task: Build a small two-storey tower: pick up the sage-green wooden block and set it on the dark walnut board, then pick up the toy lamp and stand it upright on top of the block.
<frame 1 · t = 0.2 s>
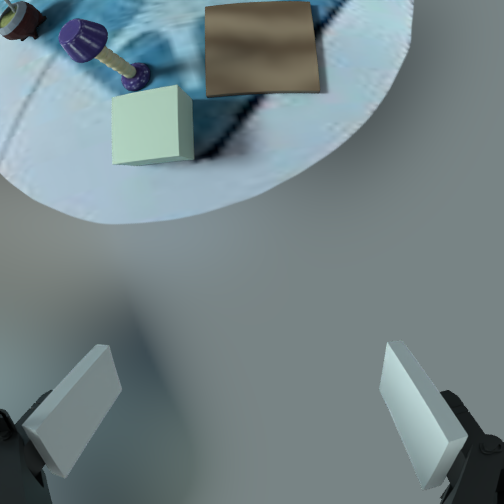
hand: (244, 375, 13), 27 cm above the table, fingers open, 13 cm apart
toy lamp: (136, 75, 36), on the table
sage block: (163, 132, 38), on the table
mate gourd: (35, 27, 34), on the table
walnut board: (260, 46, 34), on the table
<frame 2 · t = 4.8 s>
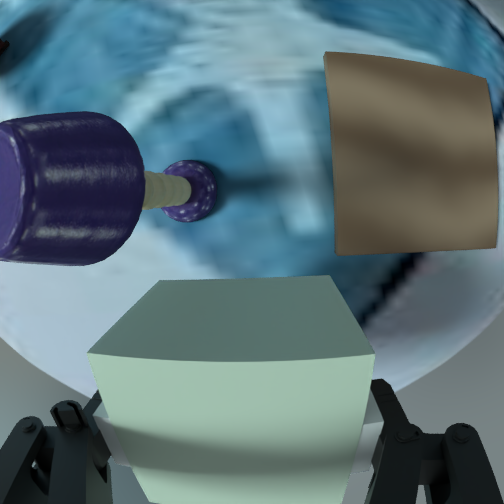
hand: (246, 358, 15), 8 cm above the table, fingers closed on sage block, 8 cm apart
toy lamp: (185, 186, 21), on the table
sage block: (247, 353, 15), point 7 cm above the table, touching gripper
walnut board: (422, 153, 20), on the table
when the fingers open (2 cm above the table, at t = 10.1 s): sage block stays where it is, resting on walnut board.
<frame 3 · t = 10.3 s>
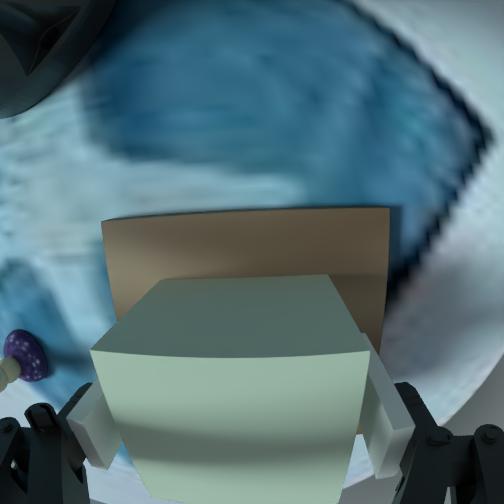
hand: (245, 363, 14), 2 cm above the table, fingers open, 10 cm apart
toy lamp: (27, 349, 18), on the table
sage block: (246, 351, 16), point 1 cm above the table, touching walnut board
walnut board: (248, 341, 17), on the table
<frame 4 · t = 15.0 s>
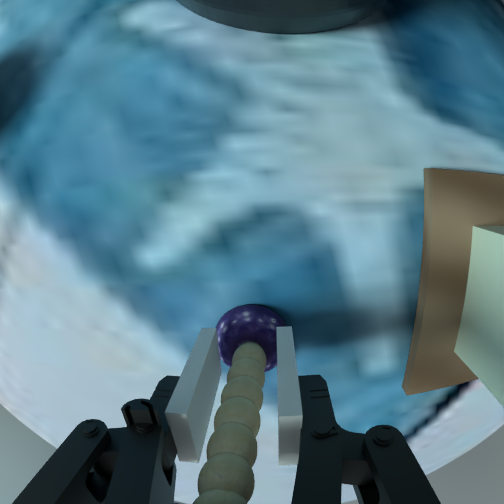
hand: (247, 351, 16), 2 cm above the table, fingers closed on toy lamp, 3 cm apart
toy lamp: (249, 331, 18), on the table, touching gripper
walnut board: (500, 281, 16), on the table
when the fingers open (11 cm above the table, at t = 22.5 s): toy lamp drops 1 cm, resting on sage block.
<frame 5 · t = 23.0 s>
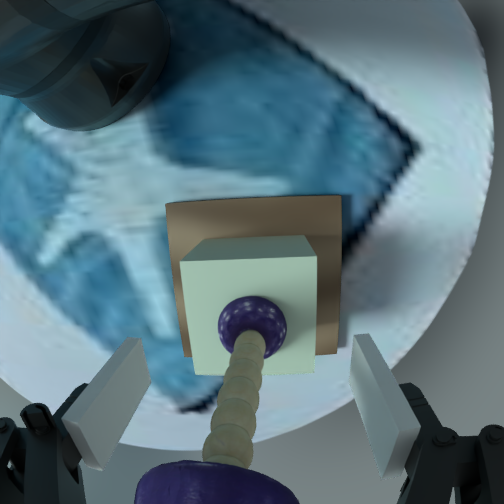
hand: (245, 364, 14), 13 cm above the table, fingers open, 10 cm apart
toy lamp: (250, 320, 19), point 8 cm above the table, touching sage block
sage block: (255, 285, 26), point 1 cm above the table, touching toy lamp, walnut board
walnut board: (256, 280, 27), on the table
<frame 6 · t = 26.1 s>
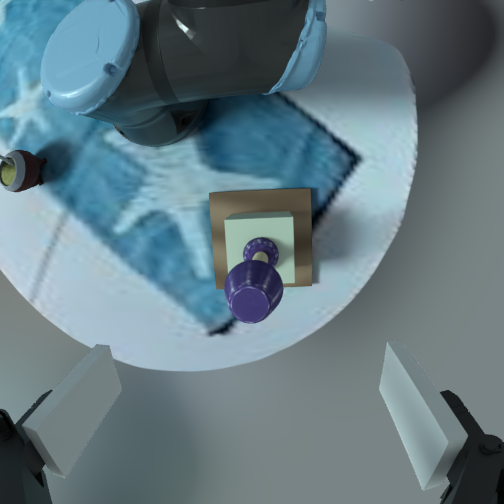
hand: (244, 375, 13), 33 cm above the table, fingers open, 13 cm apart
toy lamp: (259, 251, 38), point 8 cm above the table, touching sage block
sage block: (261, 240, 44), point 1 cm above the table, touching toy lamp, walnut board
mate gourd: (37, 167, 45), on the table
walnut board: (262, 239, 45), on the table
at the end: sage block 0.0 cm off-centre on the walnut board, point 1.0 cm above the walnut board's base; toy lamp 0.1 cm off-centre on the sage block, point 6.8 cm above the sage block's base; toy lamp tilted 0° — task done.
